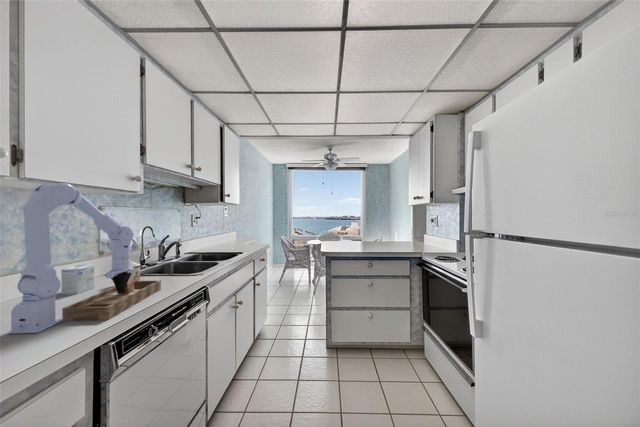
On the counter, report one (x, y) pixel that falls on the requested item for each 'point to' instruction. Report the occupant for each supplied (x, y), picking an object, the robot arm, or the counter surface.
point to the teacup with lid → (134, 272)
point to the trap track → (109, 302)
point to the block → (129, 288)
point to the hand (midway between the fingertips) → (121, 292)
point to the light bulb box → (77, 279)
